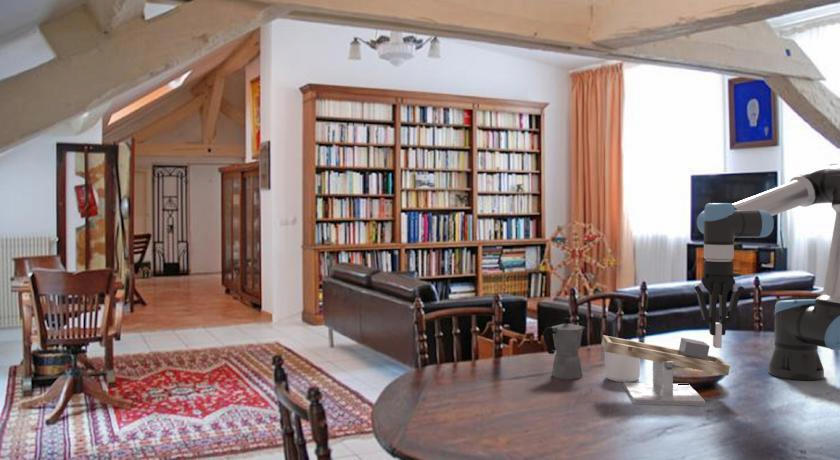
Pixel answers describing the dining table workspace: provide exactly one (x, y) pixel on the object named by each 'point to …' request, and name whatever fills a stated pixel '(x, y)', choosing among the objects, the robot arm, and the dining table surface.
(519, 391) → the dining table surface
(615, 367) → the cup
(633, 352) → the beam
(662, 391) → the stand
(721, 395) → the dining table surface
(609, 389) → the dining table surface
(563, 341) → the coffeepot
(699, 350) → the block
